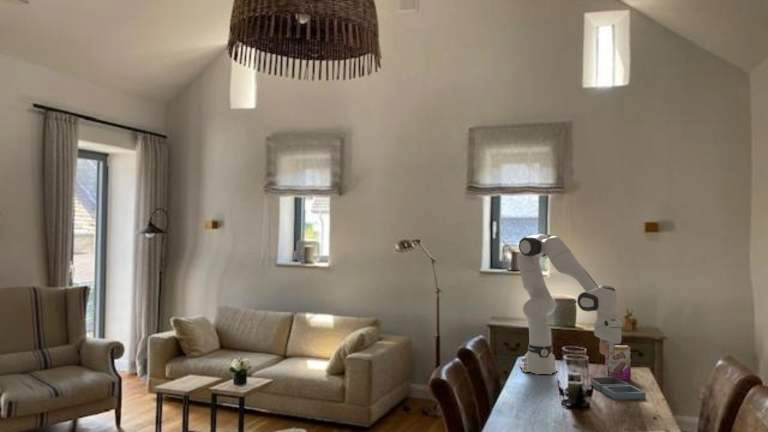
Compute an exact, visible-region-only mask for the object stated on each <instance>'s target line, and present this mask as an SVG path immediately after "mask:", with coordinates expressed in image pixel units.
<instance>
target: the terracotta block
mask: <svg viewBox="0 0 768 432" xmlns="http://www.w3.org/2000/svg"><path fill="white" fill-rule="evenodd" d="M615 345H616V344H614V347H613V351H612V352H610V351H608V347H609V342H608V341H605V342H599V354H601V355H604V356H605V355H615Z"/></svg>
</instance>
